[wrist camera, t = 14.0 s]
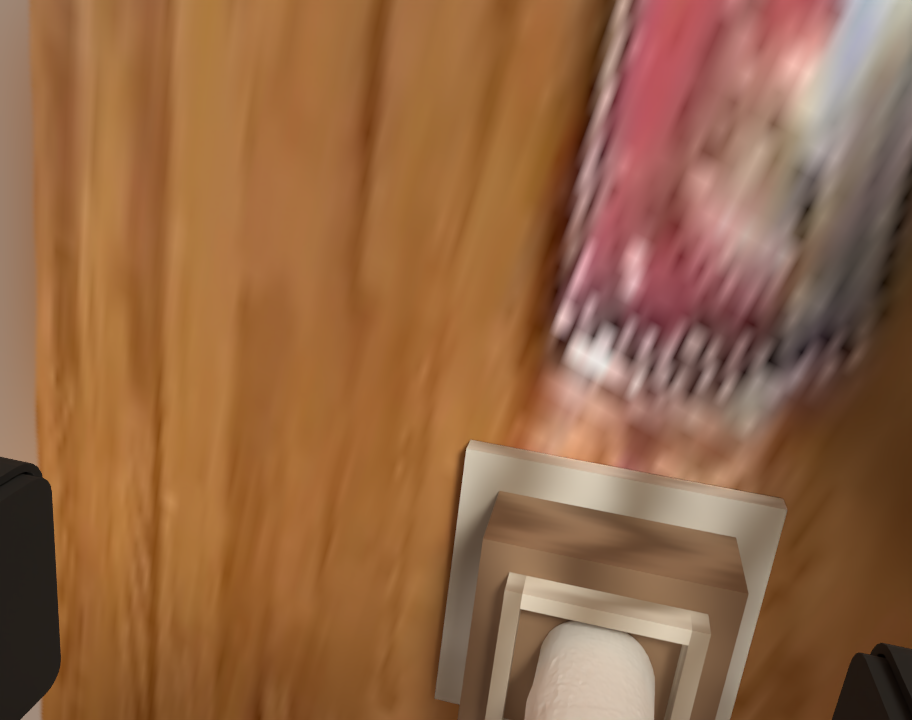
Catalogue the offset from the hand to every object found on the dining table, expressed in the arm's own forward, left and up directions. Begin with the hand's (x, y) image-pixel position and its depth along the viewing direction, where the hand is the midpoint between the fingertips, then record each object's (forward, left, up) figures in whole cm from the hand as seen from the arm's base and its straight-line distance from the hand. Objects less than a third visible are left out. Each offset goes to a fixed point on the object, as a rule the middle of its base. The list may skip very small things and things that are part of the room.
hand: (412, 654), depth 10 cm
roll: (-4, +20, -26) cm, 33 cm away
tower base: (-4, +20, -32) cm, 38 cm away
